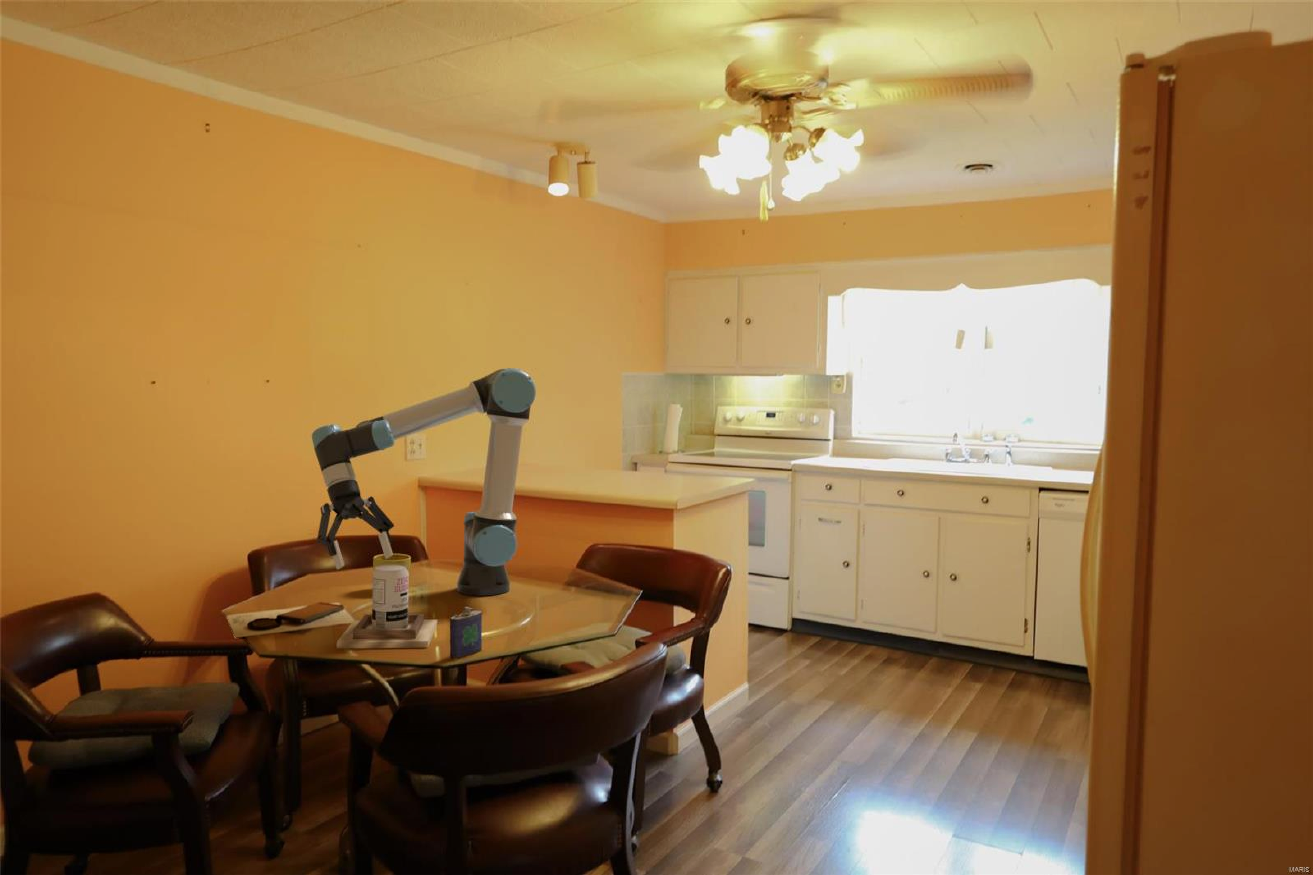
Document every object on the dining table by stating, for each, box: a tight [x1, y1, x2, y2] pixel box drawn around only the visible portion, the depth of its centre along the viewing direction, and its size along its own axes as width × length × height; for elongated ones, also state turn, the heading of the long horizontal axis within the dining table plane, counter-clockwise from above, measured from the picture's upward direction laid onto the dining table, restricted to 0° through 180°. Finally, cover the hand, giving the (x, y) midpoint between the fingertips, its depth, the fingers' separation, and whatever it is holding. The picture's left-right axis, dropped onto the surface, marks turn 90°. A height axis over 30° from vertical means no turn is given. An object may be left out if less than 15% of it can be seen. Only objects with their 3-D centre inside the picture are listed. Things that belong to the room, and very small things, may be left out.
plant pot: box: [372, 553, 412, 571], centre depth 250 cm, size 10×10×10 cm
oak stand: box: [336, 613, 438, 650], centre depth 206 cm, size 20×18×4 cm
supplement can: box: [371, 564, 410, 629], centre depth 206 cm, size 8×8×15 cm
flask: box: [449, 606, 483, 660], centre depth 195 cm, size 9×3×11 cm, turn 148°
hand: (365, 562), depth 218 cm, fingers open, 13 cm apart
